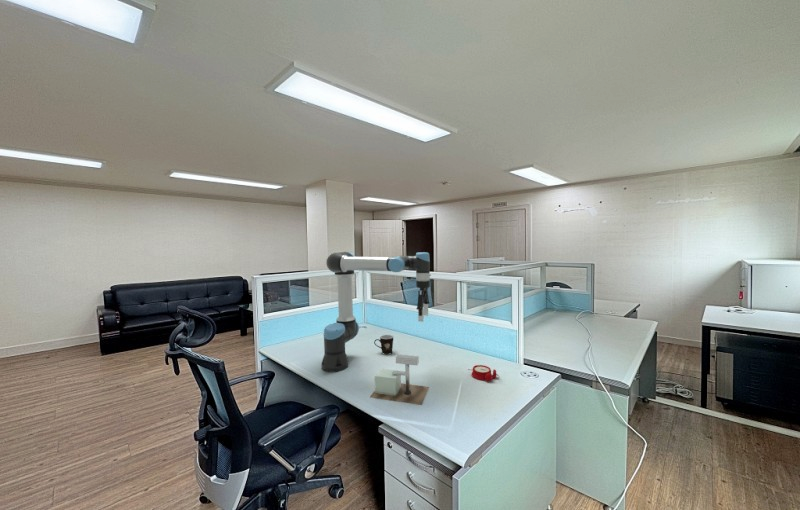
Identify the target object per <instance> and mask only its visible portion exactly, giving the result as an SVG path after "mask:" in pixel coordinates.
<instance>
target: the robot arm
mask: <svg viewBox="0 0 800 510" xmlns="http://www.w3.org/2000/svg"><path fill="white" fill-rule="evenodd" d="M430 263H431V260H430V253H429V252H425V251H423V252H416V253H415V255H398V256H355V254H354V253H352V252H349V251H340V252H334V253H331V254H330V255H328V256H327V258H326V267H327V269H328V270H329V271H330V272H331V273H334V276H335V277H336V278H337V300H338V301H337V304H338V306H337V307H338V317H337V318H336V322H333V323H330V324H328V325H326V326H325V327H324V329H323V349H324V350H323V351H324V354H323V358H322V361H321V369H322V370H323V371H324V372H329V371H335V372H340V371H344V370H346V369H347V368H348V367H349V366H350V365H349V358H348V356H347V354H346V344H347V343H348V342H350V341H351V340H353V339H354V338H356V336H357V335H358V334H359V330H360V325H359V323H358V322H357V320H356V317H355V316H354V308H353V307H354V306H353V302H354V301H353V300H354V299H353V276H354V275H355V271H361V272H362V271H363V272H365V271H366V272H393V273H400V272H403V271H405V270H415V279H416V281H415V283H416V284H415V285H416V286H415V287H416V288H418V289H419V290H418V291H417V293H418V294H417V295H418V298H417V304H416V305H417V306H416V310H417V321H418V322H419V323H421V322H423V323H424V316H427V317H428V316H429V305H430V304H431V303H430V298H429V291H428V290H429V289H428V288H430V287H431V280H430V278H431V276H432V275H431V274H430V272H431V271H430V270H431V269H430V268H431V267H430ZM348 365H349V366H348ZM345 368H346V369H345ZM339 370H340V371H339Z"/></svg>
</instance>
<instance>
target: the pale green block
mask: <svg viewBox="0 0 800 510" xmlns="http://www.w3.org/2000/svg"><path fill="white" fill-rule="evenodd" d="M392 371H393V369H385V368H380V369H379V371H377V373H375V375H374V391H375V393H379V394H386V395H393V396H396V395H397V393H398V391H399V390H400V388H401V381H402V375H395V374H392Z"/></svg>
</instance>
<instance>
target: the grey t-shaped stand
mask: <svg viewBox="0 0 800 510" xmlns="http://www.w3.org/2000/svg"><path fill="white" fill-rule="evenodd" d="M419 357H420V356H418V355H410V354H409V355H408V354H399V353H398V354H396V356H395V364H399V365H401V364H402V365H405V371H403V370H395V369H394V370H393V369H392V370H393V371H392V374H395V375H401V376H403V377H404V376H405V384H406V392H410V383H411V382H410V365H411V366H418V365H419V363H420V361H419Z"/></svg>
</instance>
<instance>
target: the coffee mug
mask: <svg viewBox="0 0 800 510" xmlns="http://www.w3.org/2000/svg"><path fill="white" fill-rule="evenodd" d="M379 338H380V339H379ZM379 338H377V339H375V340H374V345H375V346H376V347H378V348H380V350H381V353H382V354H383V353H384V354H383V355H390V353H391V354H392V353H393V345H394V335H391V334H383V335H380V336H379ZM376 341H378V342H379V343H380V346H379V345H377V343H376Z"/></svg>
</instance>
